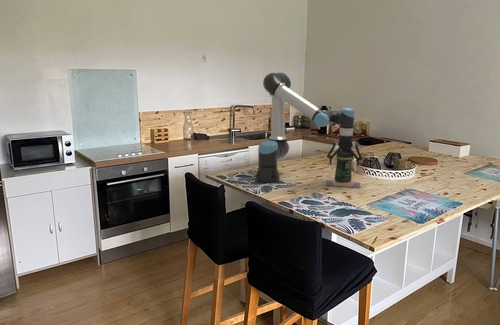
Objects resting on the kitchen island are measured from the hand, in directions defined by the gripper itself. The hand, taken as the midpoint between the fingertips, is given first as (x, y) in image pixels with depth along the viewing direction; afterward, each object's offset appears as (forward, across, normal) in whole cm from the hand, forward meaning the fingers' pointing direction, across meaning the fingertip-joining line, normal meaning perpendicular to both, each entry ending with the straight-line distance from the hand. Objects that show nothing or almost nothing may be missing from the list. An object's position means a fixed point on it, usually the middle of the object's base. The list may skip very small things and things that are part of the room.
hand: (343, 170), depth 226 cm
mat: (+9, 0, -1) cm, 9 cm away
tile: (+7, 0, +6) cm, 10 cm away
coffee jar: (+7, 0, 0) cm, 7 cm away
